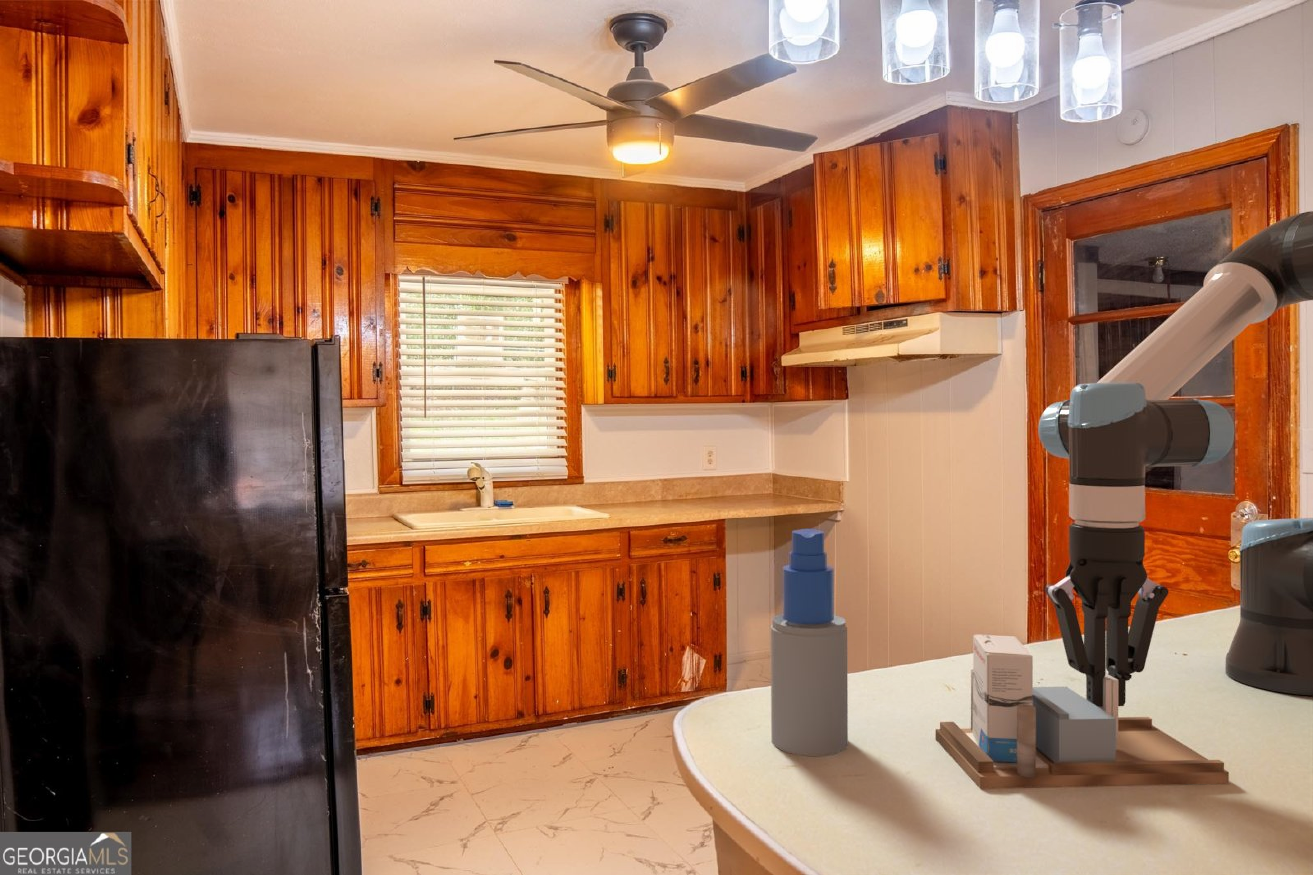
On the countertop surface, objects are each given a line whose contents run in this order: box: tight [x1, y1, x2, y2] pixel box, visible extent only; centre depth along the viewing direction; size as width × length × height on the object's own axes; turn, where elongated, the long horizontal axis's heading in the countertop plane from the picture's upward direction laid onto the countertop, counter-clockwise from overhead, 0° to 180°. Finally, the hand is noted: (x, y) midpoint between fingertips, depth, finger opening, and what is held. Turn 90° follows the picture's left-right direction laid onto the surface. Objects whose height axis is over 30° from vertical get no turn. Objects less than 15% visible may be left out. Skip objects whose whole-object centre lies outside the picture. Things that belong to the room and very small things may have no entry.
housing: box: [1032, 686, 1116, 763], centre depth 101 cm, size 6×11×6 cm, turn 1°
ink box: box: [972, 634, 1034, 762], centre depth 101 cm, size 8×5×12 cm, turn 171°
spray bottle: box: [770, 528, 849, 757], centre depth 107 cm, size 9×9×25 cm
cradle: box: [935, 668, 1230, 789], centre depth 101 cm, size 26×15×8 cm, turn 91°
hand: (1105, 734), depth 101 cm, fingers closed
